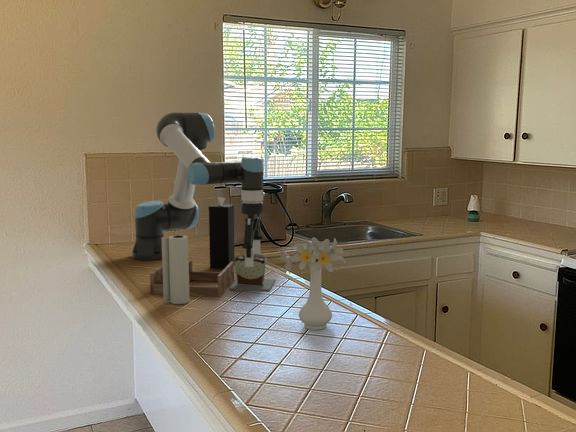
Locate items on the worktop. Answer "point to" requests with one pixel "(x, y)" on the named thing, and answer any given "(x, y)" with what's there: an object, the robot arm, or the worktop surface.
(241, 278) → the food container
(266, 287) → the mat
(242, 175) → the robot arm
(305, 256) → the flower vase
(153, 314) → the worktop surface
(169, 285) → the paper towel roll
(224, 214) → the black bar
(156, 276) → the rack
